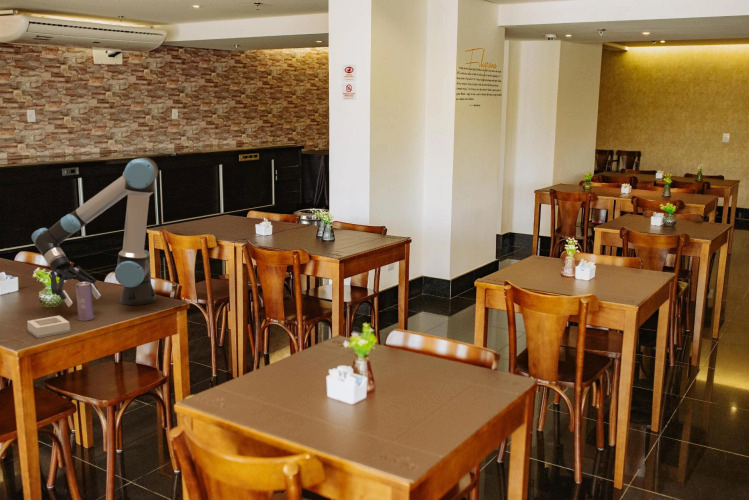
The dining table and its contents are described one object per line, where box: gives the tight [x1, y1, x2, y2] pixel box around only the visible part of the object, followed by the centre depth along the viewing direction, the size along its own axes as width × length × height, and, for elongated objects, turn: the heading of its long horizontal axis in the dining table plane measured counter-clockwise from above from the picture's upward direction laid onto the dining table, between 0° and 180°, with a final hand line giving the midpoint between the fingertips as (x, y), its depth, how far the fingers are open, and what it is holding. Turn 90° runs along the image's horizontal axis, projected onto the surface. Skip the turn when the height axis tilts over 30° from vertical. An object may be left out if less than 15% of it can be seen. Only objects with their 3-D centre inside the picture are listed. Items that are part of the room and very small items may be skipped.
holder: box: [26, 315, 71, 339], centre depth 283 cm, size 12×12×4 cm
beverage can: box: [75, 281, 95, 322], centre depth 299 cm, size 6×6×15 cm
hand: (84, 301), depth 298 cm, fingers open, 13 cm apart
